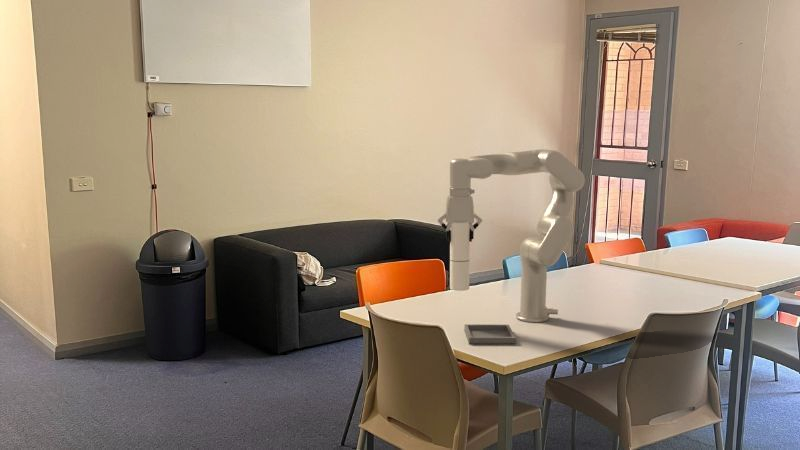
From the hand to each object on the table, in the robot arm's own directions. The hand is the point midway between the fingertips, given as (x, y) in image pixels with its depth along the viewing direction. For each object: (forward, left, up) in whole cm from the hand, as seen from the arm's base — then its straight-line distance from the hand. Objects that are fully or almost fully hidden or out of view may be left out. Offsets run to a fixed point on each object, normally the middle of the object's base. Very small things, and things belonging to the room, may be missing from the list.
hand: (459, 240), depth 274 cm
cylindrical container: (0, 0, -18) cm, 18 cm away
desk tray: (-10, +15, -32) cm, 37 cm away
